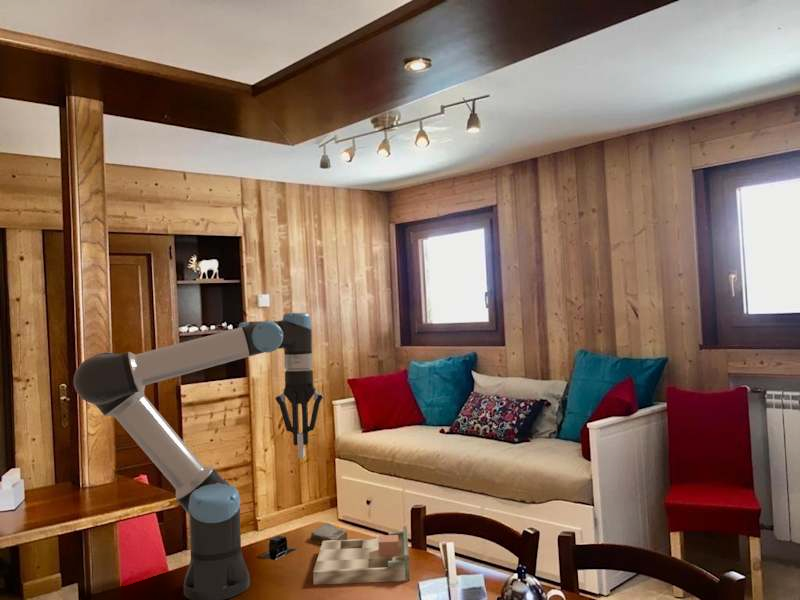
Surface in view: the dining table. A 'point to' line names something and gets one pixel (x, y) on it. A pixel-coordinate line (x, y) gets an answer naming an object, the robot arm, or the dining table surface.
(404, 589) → the dining table surface
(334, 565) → the beige divided tray
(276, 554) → the black bracket on plate
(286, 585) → the dining table surface
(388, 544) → the block
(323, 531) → the stone
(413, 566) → the dining table surface
